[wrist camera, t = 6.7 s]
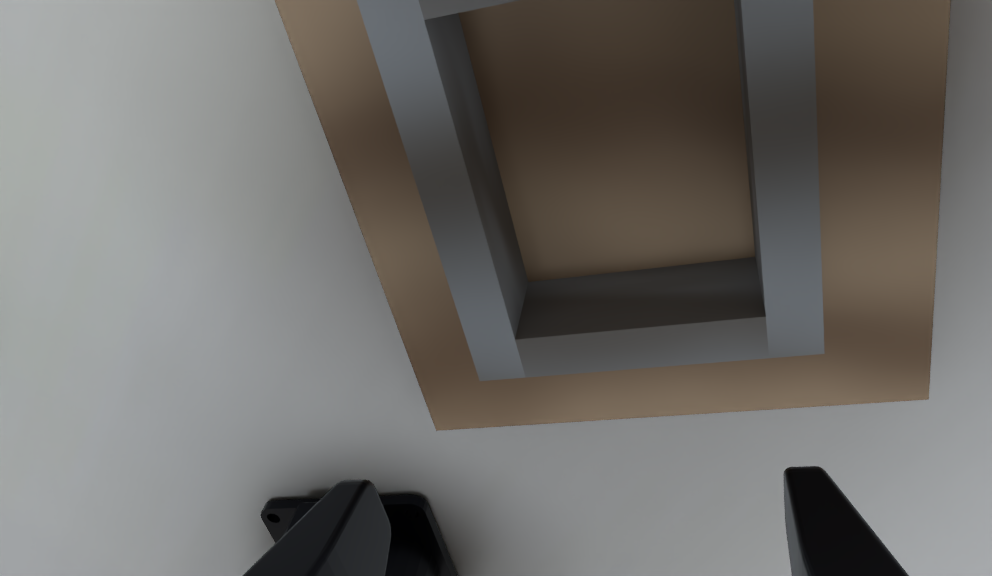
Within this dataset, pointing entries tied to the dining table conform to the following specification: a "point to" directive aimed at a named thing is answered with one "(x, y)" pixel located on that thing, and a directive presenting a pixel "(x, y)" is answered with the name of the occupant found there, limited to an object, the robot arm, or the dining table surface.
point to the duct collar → (641, 197)
